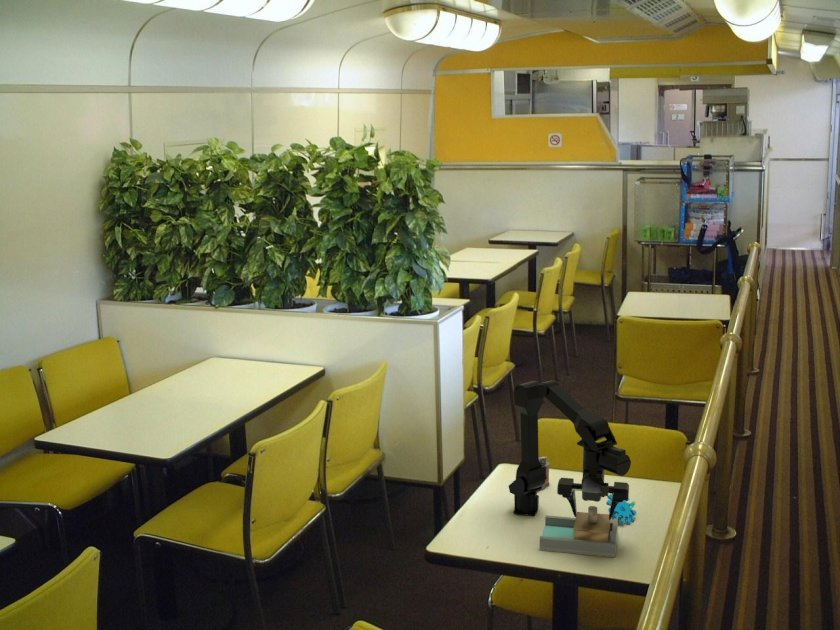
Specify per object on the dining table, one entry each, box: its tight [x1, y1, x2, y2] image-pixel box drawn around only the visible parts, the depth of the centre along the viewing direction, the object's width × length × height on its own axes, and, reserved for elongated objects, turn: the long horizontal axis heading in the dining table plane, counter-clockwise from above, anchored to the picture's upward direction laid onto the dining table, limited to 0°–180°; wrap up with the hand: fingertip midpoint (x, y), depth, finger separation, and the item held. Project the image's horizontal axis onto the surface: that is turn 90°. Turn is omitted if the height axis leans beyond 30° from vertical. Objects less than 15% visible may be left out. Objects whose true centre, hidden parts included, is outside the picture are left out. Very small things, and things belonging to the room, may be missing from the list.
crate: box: [573, 505, 612, 542], centre depth 249 cm, size 9×10×9 cm
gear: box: [606, 493, 637, 525], centre depth 264 cm, size 11×6×10 cm
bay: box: [539, 514, 619, 558], centre depth 250 cm, size 20×14×5 cm
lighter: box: [537, 455, 551, 493], centre depth 284 cm, size 8×3×10 cm, turn 134°
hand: (592, 517), depth 248 cm, fingers open, 9 cm apart
